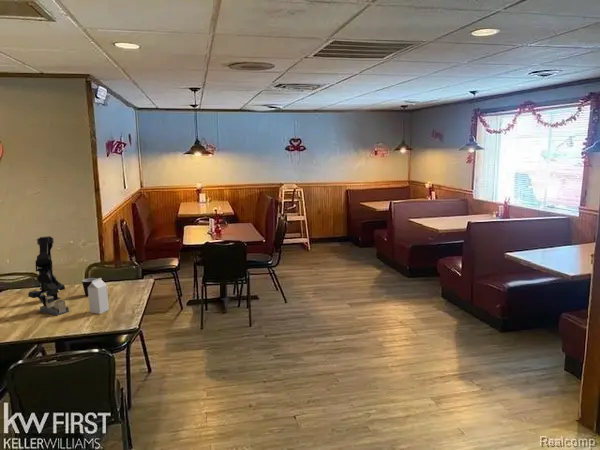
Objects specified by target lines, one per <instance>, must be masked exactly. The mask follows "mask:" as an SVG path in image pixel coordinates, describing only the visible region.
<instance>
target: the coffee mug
mask: <svg viewBox="0 0 600 450" xmlns="http://www.w3.org/2000/svg"><path fill="white" fill-rule="evenodd" d="M96 279H97V278H95V277H89V278H88V277H87V278H84V279H81V280H82V281H81V283H82V287H83V291H84V295H85V297H88V298H89V296H88V287H89V285H90V284H91V283H92V281H93V280H96Z"/></svg>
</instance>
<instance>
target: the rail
mask: <svg viewBox="0 0 600 450" xmlns="http://www.w3.org/2000/svg"><path fill="white" fill-rule="evenodd" d="M39 311H40V313H45V314H48V315H52V316H56V317H58V316H61V315H64V314H67V313H69V311H70V310H69V306H66V301H65V300H62V299H58V300H55V301H54V306H53V307H50V308H45V307H44V306H43V305H42V306H39Z"/></svg>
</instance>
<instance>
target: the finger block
mask: <svg viewBox="0 0 600 450" xmlns="http://www.w3.org/2000/svg"><path fill="white" fill-rule="evenodd" d="M45 301H46V306H44V305H43V304H42V306H44V307H45V308H50V307H53V306H54V302H55V300H54V298H53V296H50V295H48V296H47V295H46V296H45Z"/></svg>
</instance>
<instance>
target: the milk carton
mask: <svg viewBox="0 0 600 450" xmlns="http://www.w3.org/2000/svg"><path fill="white" fill-rule="evenodd" d="M88 296H89V297H88V303H89V313H90V314H98V315H101V314H103V313H105V312H107V311H109V310H110V304H109V294H108V285H107V284H106V283H105V281H103V280H102V277H99V278H96V280H93V281H92V283H91V284H90V285H89V287H88Z"/></svg>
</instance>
